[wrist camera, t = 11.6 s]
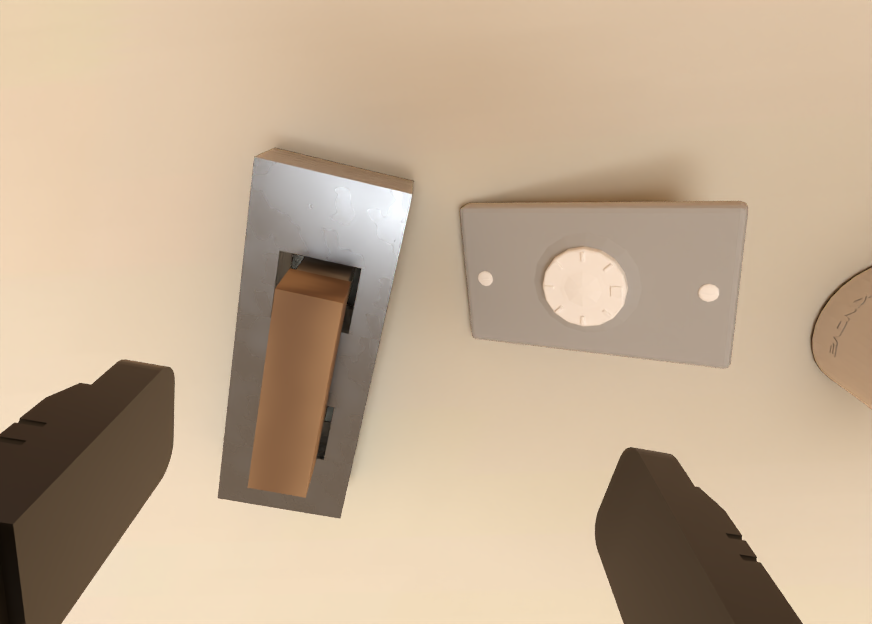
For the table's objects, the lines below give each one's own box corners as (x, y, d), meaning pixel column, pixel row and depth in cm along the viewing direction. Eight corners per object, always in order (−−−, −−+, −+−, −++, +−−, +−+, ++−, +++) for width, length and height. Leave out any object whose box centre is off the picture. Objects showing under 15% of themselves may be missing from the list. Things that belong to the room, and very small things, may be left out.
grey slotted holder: (413, 181, 31) (412, 194, 27) (347, 477, 39) (340, 518, 36) (274, 147, 30) (254, 156, 27) (237, 458, 39) (217, 498, 35)
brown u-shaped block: (361, 253, 33) (343, 303, 25) (328, 415, 37) (305, 497, 30) (308, 241, 32) (274, 288, 25) (282, 406, 37) (247, 487, 30)
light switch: (451, 211, 30) (748, 211, 24) (490, 188, 35) (748, 183, 28) (465, 345, 34) (729, 380, 27) (499, 308, 38) (731, 329, 32)
